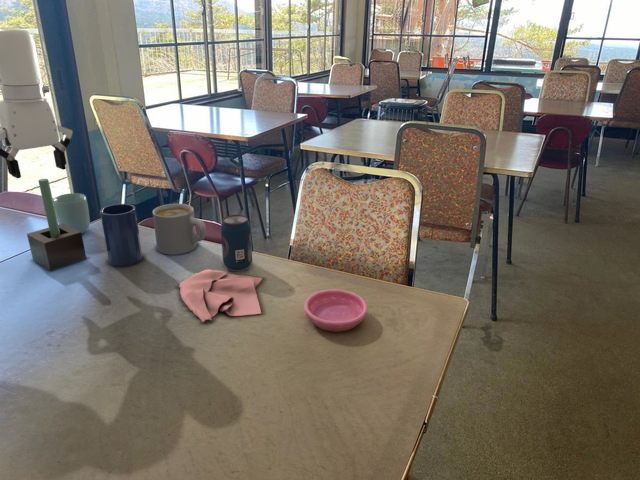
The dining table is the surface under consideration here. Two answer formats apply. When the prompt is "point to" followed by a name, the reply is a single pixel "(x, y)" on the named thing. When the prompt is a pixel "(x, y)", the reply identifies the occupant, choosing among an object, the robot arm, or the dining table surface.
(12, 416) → the dining table surface
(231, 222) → the soda can
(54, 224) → the brush
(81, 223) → the cup
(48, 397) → the dining table surface
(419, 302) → the dining table surface
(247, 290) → the cloth
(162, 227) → the coffee mug
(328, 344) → the dining table surface
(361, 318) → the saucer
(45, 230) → the stand
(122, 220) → the tumbler
